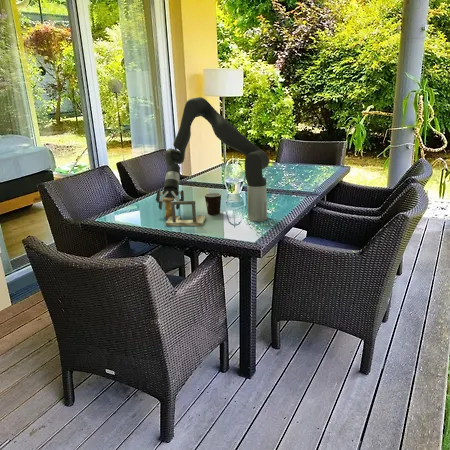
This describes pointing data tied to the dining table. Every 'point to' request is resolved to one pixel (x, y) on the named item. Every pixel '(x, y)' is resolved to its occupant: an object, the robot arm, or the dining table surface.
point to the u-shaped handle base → (176, 220)
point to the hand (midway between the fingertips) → (168, 209)
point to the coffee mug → (213, 203)
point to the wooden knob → (168, 206)
